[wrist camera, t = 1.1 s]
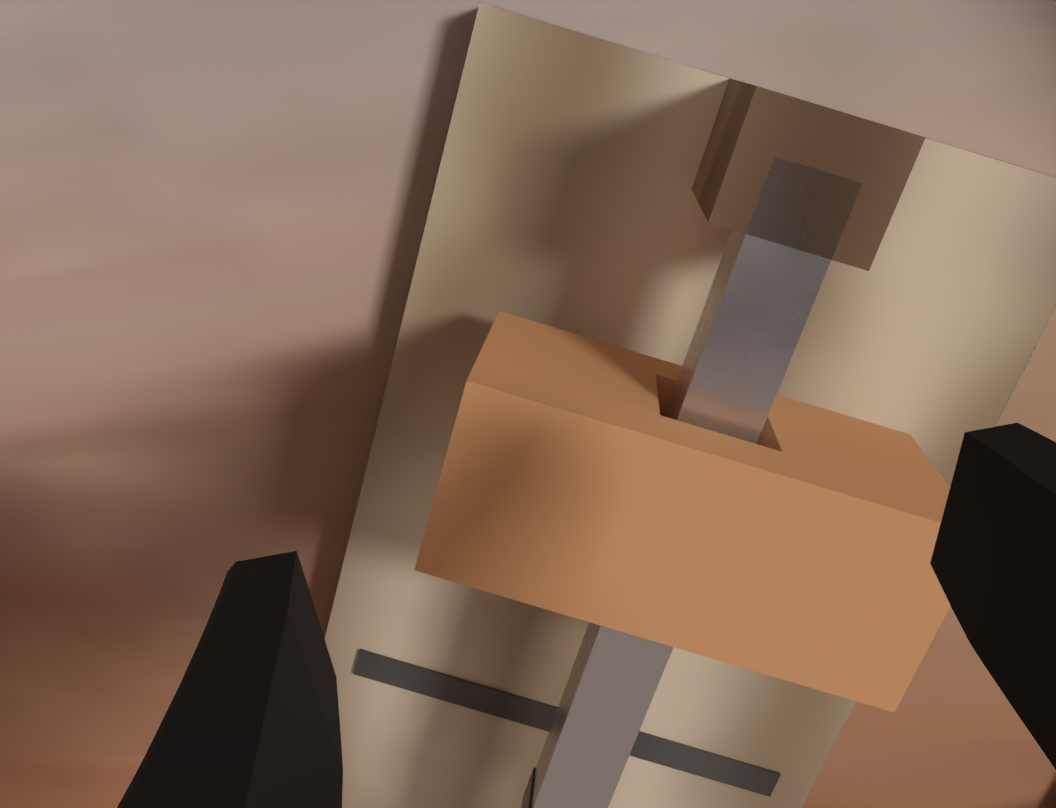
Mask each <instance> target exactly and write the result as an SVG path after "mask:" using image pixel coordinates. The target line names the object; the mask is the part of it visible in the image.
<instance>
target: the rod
mask: <svg viewBox="0 0 1056 808" xmlns="http://www.w3.org/2000/svg"><path fill="white" fill-rule="evenodd" d="M774 158H775V156H774ZM780 159H781V158H780ZM773 161H774V159H773ZM779 161H780V160H779V158H778V159H777V158H776V161H775V164H774V163H773V162H772V164H774V166H775V165H776V166H775V167H773V165H772V164H771V167H772V168H773V169H774V168H775V169H774V170H776V171H777V169H779V170H780V171H779V170H778V173H779V172H780V173H783V174H781V176H782V175H783V177H782V179H783V178H784V177H785V175H786V174H787V173H788V174H789V172H788V171H789V169H786V167H787V168H788V166H790V165H789V164H790V163H791V166H792V168H791V167H789V168H790V170H791V172H792V174H793V175H795V176H796V177H797V178H798V177H799V176H797V175H796V174H798V171H799V168H800V166H801V164H800V165H799V164H797V163H794V164H796V165H797V166H796V168H797V169H795V171H796V174H794V173H795V171H794V168H793V166H794V167H795V165H793V163H792V162H789V161H788V160H787V165H788V166H787V165H786V164H785V165H784V164H782V163H783V162H785V161H786V160H785V161H784V159H783V160H782V159H781V161H782V163H781V161H780V163H781V164H782V166H780V164H779ZM776 162H778V163H776ZM777 164H778V165H779V166H780V167H777ZM783 165H784V166H785V168H784V167H783ZM798 167H799V168H798ZM803 167H804V168H807V166H804V165H803ZM772 168H770V169H771V170H769V171H770V172H768V174H769V173H770V174H771V173H772V172H773V174H771V175H772V176H771V175H767V176H768V179H767V178H766V179H767V181H765V184H767V183H766V182H768V180H769V179H771V181H770V180H769V181H770V183H771V185H772V182H773V181H774V182H775V183H774V182H773V183H774V184H773V185H772V186H773V187H772V186H771V187H772V188H773V189H774V190H776V191H777V192H778V191H779V194H780V199H781V200H782V201H783V200H784V198H785V199H786V202H787V203H786V202H784V204H786V205H788V207H787V206H785V205H784V204H780V203H781V202H782V201H781V200H778V202H779V201H780V203H778V202H777V199H779V196H778V195H779V194H778V195H777V194H775V192H774V195H773V194H772V193H773V192H772V191H774V190H773V189H772V188H771V187H770V186H769V185H770V184H769V182H768V188H769V189H770V188H771V192H770V190H769V189H768V190H769V192H768V190H767V189H766V188H767V186H766V187H765V188H764V186H763V188H764V190H765V191H764V193H765V194H768V195H770V194H771V195H770V196H771V197H770V198H771V199H773V202H772V201H771V200H770V199H769V197H768V195H765V194H764V197H765V198H766V201H765V198H764V197H762V199H763V200H762V199H761V201H760V202H762V203H763V204H764V205H765V204H766V205H768V206H769V207H768V206H765V208H764V207H763V206H764V205H762V206H761V204H762V203H759V202H757V205H760V206H759V207H758V208H759V209H758V210H757V209H756V208H755V209H756V210H757V211H756V212H758V213H756V212H755V210H754V212H755V213H756V214H757V216H759V218H760V219H761V217H763V216H765V218H764V217H763V218H762V219H763V220H764V223H763V226H764V227H765V226H766V227H765V228H764V227H763V226H762V227H763V228H764V229H763V228H762V229H763V230H762V229H761V230H762V232H761V230H760V229H759V228H760V227H761V226H760V225H762V222H763V220H760V219H758V217H757V218H756V220H755V217H754V218H751V221H752V223H753V224H752V223H751V226H752V227H753V228H755V227H756V228H755V229H757V227H758V226H759V227H758V229H757V231H758V232H756V231H754V230H755V229H752V228H751V226H750V227H748V229H747V231H748V230H749V233H747V232H746V234H744V233H741V232H738V231H734V230H732V231H731V233H730V236H729V239H728V242H727V244H726V247H725V250H724V253H723V255H722V258H721V261H720V263H719V266H718V269H717V272H716V274H715V277H714V280H713V283H712V285H711V288H710V291H709V294H708V296H707V299H706V302H705V305H704V307H703V310H702V313H701V316H700V318H699V321H698V324H697V327H696V329H695V332H694V335H693V338H692V340H691V343H690V346H689V349H688V351H687V354H686V357H685V360H684V362H683V365H682V368H681V371H680V373H679V376H678V379H677V382H676V384H675V387H674V390H673V393H672V395H671V398H670V401H669V404H668V406H667V409H666V412H665V415H664V417H668V418H671V419H674V420H678V421H681V422H684V423H688V424H691V425H695V426H698V427H701V428H705V429H708V430H711V431H715V432H718V433H721V434H725V435H728V436H731V437H735V438H738V439H741V440H745V441H748V442H751V443H755V444H757V441H758V439H759V436H760V434H761V431H762V429H763V426H764V424H765V422H766V419H767V417H768V414H769V412H770V409H771V407H772V404H773V402H774V399H775V397H776V395H777V392H778V390H779V387H780V385H781V382H782V380H783V377H784V375H785V373H786V370H787V368H788V365H789V363H790V360H791V358H792V355H793V353H794V350H795V348H796V346H797V343H798V341H799V338H800V336H801V333H802V331H803V328H804V326H805V323H806V321H807V319H808V316H809V314H810V311H811V309H812V306H813V304H814V301H815V299H816V296H817V294H818V292H819V289H820V287H821V284H822V282H823V279H824V277H825V274H826V272H827V270H828V267H829V265H830V262H831V260H830V259H828V258H829V257H833V254H834V251H835V250H836V248H834V247H835V246H836V245H837V244H836V242H834V243H833V242H832V240H833V237H836V236H834V235H835V234H834V233H835V232H836V231H834V230H835V229H836V230H837V228H839V227H837V226H838V225H839V226H840V227H841V226H842V227H843V229H842V228H839V230H840V229H842V230H844V227H845V225H844V226H843V225H841V224H842V223H841V224H838V222H836V221H834V220H835V219H834V220H833V219H832V221H834V222H836V224H838V225H836V227H837V228H835V229H834V228H833V230H832V229H831V228H832V227H833V226H832V225H830V223H832V224H833V222H830V223H828V224H827V227H826V225H825V223H826V222H827V221H829V220H828V219H830V218H832V216H833V218H834V215H833V214H832V216H831V215H830V214H831V213H832V212H831V211H832V210H831V207H833V208H834V210H833V211H835V206H836V205H835V204H834V205H835V206H832V204H833V202H832V201H831V204H830V203H829V201H828V200H830V199H829V197H828V199H827V198H826V195H827V194H826V192H825V191H827V189H828V188H829V187H828V188H827V186H828V185H829V184H830V182H828V183H827V184H828V185H827V186H826V184H825V182H826V181H825V179H823V178H822V179H823V180H824V181H823V182H824V183H823V184H824V185H823V184H822V181H821V179H820V181H821V184H822V187H824V186H825V187H824V189H825V188H826V190H824V191H823V190H822V187H820V189H821V190H822V191H823V193H822V192H820V189H819V186H817V184H818V183H819V182H817V181H816V182H817V184H816V183H815V182H813V183H814V184H815V185H814V186H817V187H818V189H819V190H818V189H817V188H816V187H814V188H816V189H817V191H818V192H819V193H821V194H822V195H823V194H824V192H825V194H826V195H825V194H824V195H823V196H824V197H825V198H826V199H827V200H826V199H825V198H824V197H823V196H822V197H820V198H822V199H825V200H826V201H824V202H825V203H826V202H827V203H828V204H830V206H831V207H830V210H829V211H830V212H831V213H828V212H829V211H828V209H827V210H825V208H826V207H828V206H827V205H825V204H824V205H825V206H826V207H824V206H823V207H824V209H823V210H824V211H826V212H824V211H823V213H828V214H829V215H830V218H829V217H828V219H827V217H826V216H824V214H822V215H823V216H824V217H825V218H826V219H827V220H825V219H824V221H825V222H824V221H823V220H820V219H823V218H824V217H823V218H822V217H821V216H822V215H820V213H822V212H820V213H819V216H820V217H821V218H820V217H819V216H818V213H817V212H815V210H816V209H815V207H814V206H816V203H817V201H818V205H819V204H820V205H819V206H821V205H822V203H823V201H822V199H821V200H817V199H818V198H817V197H816V195H818V196H819V195H821V194H818V193H816V192H815V193H816V195H814V190H813V188H812V191H813V193H812V191H811V192H810V191H807V190H806V191H807V192H806V191H805V190H804V191H803V192H801V191H802V190H801V189H802V186H801V185H798V183H797V187H795V186H794V185H795V184H796V183H795V182H797V180H796V177H795V176H794V178H795V180H796V181H795V180H793V179H791V178H792V177H793V176H792V174H791V172H790V174H789V175H788V174H787V175H788V176H789V178H787V177H788V176H787V177H786V178H787V179H788V181H787V179H786V178H785V179H786V180H785V181H786V182H787V183H788V184H787V183H786V182H785V184H787V186H788V187H790V189H791V190H789V188H788V187H787V186H786V187H785V185H784V184H783V182H781V181H784V180H782V179H781V178H780V177H779V176H780V173H779V174H777V173H775V172H776V171H774V170H773V171H772ZM776 168H777V169H776ZM781 168H783V170H784V169H786V170H788V171H786V170H785V171H786V172H787V173H786V172H785V171H784V172H783V171H782V169H781ZM801 168H802V167H801ZM801 168H800V171H801V172H802V170H803V172H804V170H805V169H804V168H803V169H802V170H801ZM809 168H810V170H809V169H808V168H807V169H808V170H809V172H810V171H811V169H812V170H813V168H811V167H809ZM792 169H793V171H794V173H793V171H792ZM816 170H817V169H816ZM818 171H820V170H818ZM803 172H802V175H803ZM805 172H806V173H807V174H808V173H809V172H807V171H805ZM813 172H815V173H816V174H818V173H817V171H815V170H813ZM823 172H824V171H823ZM774 173H775V174H776V175H777V176H776V177H775V179H776V180H775V179H774V178H773V177H774V176H775V175H774ZM784 173H785V174H784ZM820 173H821V172H819V174H820ZM824 173H825V176H824V175H823V176H824V178H826V176H827V175H828V174H829V173H826V172H824ZM824 173H823V174H824ZM807 174H804V176H806V175H807ZM819 174H818V176H819ZM826 174H827V175H826ZM798 175H799V174H798ZM800 175H801V173H800ZM802 175H801V176H802ZM814 175H815V174H813V176H814ZM769 176H770V178H769ZM790 176H791V177H790ZM809 176H810V175H809V174H808V177H809ZM813 176H812V177H811V176H810V177H811V178H812V179H811V178H808V177H807V176H806V177H807V178H808V183H809V180H811V181H812V180H813V179H814V177H817V176H814V177H813ZM820 176H821V175H820ZM820 176H819V177H820ZM823 176H822V177H823ZM828 176H830V177H831V176H833V174H831V175H828ZM771 177H772V178H773V180H772V178H771ZM830 177H829V181H831V179H830ZM833 177H834V176H833ZM835 177H839V176H835ZM779 178H780V179H781V180H779V183H780V182H781V183H780V185H781V186H782V184H783V186H784V187H785V188H784V189H783V187H779V186H780V185H779V183H778V185H779V186H778V187H779V188H780V189H782V190H781V192H782V193H783V195H784V194H785V193H784V192H786V190H787V193H788V192H789V191H790V192H792V188H793V186H794V187H795V189H796V191H795V192H797V191H799V187H800V186H801V189H800V192H801V193H804V192H805V193H806V194H807V195H806V194H805V193H804V194H805V195H806V197H805V196H804V197H803V195H804V194H803V195H802V194H801V193H800V194H801V195H802V197H803V199H802V198H800V197H801V196H800V197H799V199H795V198H794V197H795V196H796V197H797V195H795V194H794V193H795V192H792V193H793V194H790V195H791V196H792V195H794V197H793V196H792V201H793V200H794V199H795V201H796V202H797V201H798V202H799V201H800V199H802V200H801V201H805V200H806V199H807V198H808V197H807V196H808V195H809V194H810V193H811V194H812V195H814V196H815V197H816V198H817V199H816V198H815V199H814V200H815V202H814V200H813V201H811V200H810V198H814V196H813V197H812V196H811V195H809V196H810V197H809V198H808V199H809V200H810V202H808V203H809V205H810V204H811V202H814V204H815V205H814V206H813V205H812V204H813V203H812V204H811V205H812V206H813V207H812V206H811V208H813V209H815V210H813V209H811V208H810V207H809V205H807V204H806V205H807V206H808V207H809V208H810V210H809V208H808V207H807V206H805V208H806V209H804V208H801V207H802V206H803V207H804V205H803V204H801V202H799V203H800V204H801V205H800V204H798V202H797V203H795V205H796V204H797V205H796V206H795V207H794V208H796V207H797V206H799V205H800V206H799V207H800V208H801V209H802V210H803V209H804V212H805V213H806V214H805V213H804V212H803V213H804V214H805V215H804V214H803V213H802V212H801V213H802V214H803V217H804V216H806V215H807V214H808V213H807V212H806V210H807V209H808V211H809V213H810V211H811V212H812V211H813V212H815V213H816V214H817V216H818V217H819V219H817V221H818V220H820V221H821V222H822V221H823V222H824V226H823V227H824V228H823V227H822V226H821V227H822V228H823V229H824V231H826V230H827V231H829V230H831V232H832V231H833V234H834V235H832V236H833V237H832V236H830V238H831V237H832V238H831V239H832V240H831V241H830V242H831V243H833V245H834V247H833V245H832V246H831V243H830V242H829V243H828V245H829V246H831V247H832V248H834V249H835V250H834V251H832V250H831V252H832V253H833V254H830V255H831V256H829V257H828V258H827V256H828V255H827V256H826V254H827V253H828V252H829V251H828V250H830V249H829V248H830V247H827V248H828V249H827V250H826V249H825V253H826V251H828V252H827V253H826V254H825V255H824V257H825V258H824V257H823V256H822V257H821V255H820V253H821V252H823V249H822V248H821V247H823V248H824V246H823V245H822V243H823V242H824V241H825V240H822V241H823V242H822V241H821V238H822V235H823V236H826V235H827V237H825V238H826V239H828V235H830V234H829V233H830V231H829V233H827V232H826V233H825V232H824V231H823V233H824V234H826V235H824V234H823V233H822V232H821V230H822V229H821V228H820V229H821V230H820V232H821V233H820V234H821V236H820V235H818V234H817V232H815V231H813V232H815V233H814V234H812V230H813V229H815V228H813V223H814V224H815V222H814V221H813V220H811V218H812V216H813V215H815V217H816V218H817V216H816V214H813V212H812V214H813V215H812V214H811V215H812V216H810V215H809V216H808V217H809V220H808V223H807V224H806V225H807V227H808V228H807V227H805V226H806V225H805V226H804V227H802V226H803V224H804V223H805V222H804V221H803V219H800V216H801V215H802V214H801V213H800V212H799V211H802V210H799V209H798V211H797V210H796V209H797V208H798V207H797V208H796V209H794V208H793V206H794V205H793V203H792V202H791V203H792V205H793V206H791V204H789V203H790V201H789V200H788V199H789V197H790V196H787V194H785V195H786V197H788V198H786V197H785V195H784V196H783V195H782V194H781V192H780V189H779V188H778V187H777V181H778V179H779ZM799 178H800V177H799ZM802 178H803V176H802ZM802 178H800V179H798V180H801V179H802ZM831 178H832V177H831ZM841 178H842V177H841ZM789 179H791V181H792V180H793V182H794V181H795V182H794V183H795V184H794V183H792V182H790V184H791V186H790V185H789V181H790V180H789ZM817 179H818V181H819V178H817ZM827 179H828V178H827ZM836 179H837V178H836ZM838 179H839V178H838ZM844 179H845V178H844ZM844 179H840V183H843V181H842V182H841V180H844ZM846 179H847V178H846ZM814 180H816V179H814ZM834 180H835V179H834ZM834 180H833V181H834ZM802 181H803V179H802ZM802 181H801V182H802ZM805 181H807V180H806V178H805ZM805 181H803V182H804V184H802V185H803V187H804V189H805V184H806V182H805ZM811 181H810V182H811ZM836 181H838V180H836ZM846 181H847V182H845V181H844V182H845V183H847V184H849V183H848V179H847V180H846ZM798 182H799V183H801V182H800V181H798ZM834 182H835V181H834ZM851 182H852V180H851ZM851 182H850V183H851ZM808 183H807V185H809V184H810V183H809V184H808ZM811 183H812V182H811ZM835 183H837V182H835ZM838 183H839V181H838ZM840 183H839V187H841V184H840ZM845 183H844V185H843V186H845V185H846V184H845ZM765 184H764V185H765ZM831 184H832V183H831ZM833 184H834V183H833ZM851 184H852V183H851ZM851 184H850V185H851ZM853 184H854V185H855V182H854V183H853ZM861 184H863V183H861ZM792 185H793V186H792ZM811 185H812V186H813V184H810V187H809V186H808V187H809V188H808V187H806V188H807V189H808V190H811V189H810V188H811ZM819 185H820V183H819ZM850 185H849V186H850ZM856 185H857V183H856ZM798 186H799V187H798ZM820 186H821V185H820ZM832 186H833V185H832ZM834 186H838V184H837V185H834ZM834 186H833V187H832V188H834ZM846 186H847V185H846ZM846 186H845V188H846ZM860 186H861V185H860ZM860 186H859V187H860ZM776 187H777V188H778V190H777V189H776ZM847 187H848V186H847ZM851 187H853V186H850V187H849V188H851ZM857 187H858V186H857ZM832 188H829V189H832ZM837 188H838V187H836V188H835V189H836V191H838V189H839V188H838V189H837ZM845 188H842V187H841V189H845ZM849 188H846V189H849ZM816 189H815V190H816ZM853 189H854V187H853ZM860 189H861V187H860V188H859V189H858V190H859V191H860ZM762 190H763V189H762ZM766 190H767V193H766ZM784 190H785V191H784ZM793 190H794V189H793ZM839 190H840V189H839ZM850 190H851V189H849V191H850ZM854 190H855V189H854ZM836 191H835V193H837V192H836ZM849 191H845V192H847V193H848V194H849ZM856 191H857V189H856ZM856 191H855V192H853V190H852V192H853V194H854V195H853V194H852V193H851V195H853V196H852V197H854V196H855V193H856ZM790 192H789V193H790ZM809 192H810V193H809ZM828 192H829V191H828ZM830 192H831V191H830ZM830 192H829V193H830ZM832 192H833V193H834V191H833V189H832ZM850 192H851V191H850ZM761 193H763V192H762V191H761ZM769 193H770V194H769ZM798 193H799V192H798ZM808 193H809V194H808ZM833 193H831V195H832V196H833ZM838 193H839V191H838ZM847 193H845V194H844V191H843V194H844V197H845V195H846V194H847ZM857 193H858V192H857ZM800 194H798V196H799V195H800ZM840 194H842V193H840ZM843 194H842V195H841V196H843ZM788 195H789V194H788ZM828 195H829V194H828ZM831 195H830V197H832V196H831ZM836 195H837V196H838V194H836ZM836 195H835V196H834V199H835V198H836ZM760 196H761V194H760ZM762 196H763V194H762ZM766 196H767V197H768V198H767V197H766ZM772 196H773V197H775V196H777V197H775V199H776V198H777V199H776V200H775V199H774V198H772ZM841 196H840V197H841ZM848 196H850V194H849V195H847V197H848ZM857 196H858V195H857V194H856V197H857ZM782 197H783V198H782ZM838 197H839V196H838ZM840 197H839V198H840ZM847 197H845V198H846V199H843V200H847V199H848V198H847ZM760 198H761V197H760ZM793 198H794V199H793ZM797 198H798V197H797ZM820 198H819V199H820ZM804 199H805V200H804ZM808 199H807V200H808ZM841 199H842V197H841ZM768 200H769V202H768ZM790 200H791V198H790ZM807 200H806V201H807ZM809 200H808V201H809ZM850 200H852V199H850ZM850 200H849V202H848V201H844V202H845V203H846V202H847V203H848V204H849V203H851V204H853V203H852V202H853V201H852V202H851V201H850ZM854 200H856V199H854ZM758 201H759V199H758ZM764 201H765V202H766V203H765V202H764ZM775 201H776V202H775ZM784 201H785V200H784ZM788 201H789V203H788ZM795 201H794V202H795ZM819 201H821V203H820V202H819ZM835 201H836V200H835ZM837 201H838V202H837V206H836V211H837V207H838V206H839V204H838V203H839V202H841V201H839V199H837ZM774 202H775V204H778V206H779V207H778V206H777V205H775V204H774ZM844 202H843V203H844ZM854 202H855V201H854ZM770 203H772V204H774V206H775V207H774V208H775V209H776V211H777V213H778V214H779V213H780V211H781V210H783V211H781V213H782V214H781V213H780V215H781V216H779V215H778V214H776V211H775V210H773V209H774V208H773V205H772V204H771V205H770ZM802 203H804V202H802ZM779 204H780V205H784V206H785V207H787V208H789V209H790V208H791V209H793V210H794V211H795V212H794V216H795V215H796V214H797V215H796V216H798V212H799V213H800V214H799V215H800V216H799V219H800V220H801V222H803V223H802V226H801V224H799V225H800V226H801V229H803V228H804V229H805V228H807V230H808V232H809V231H810V233H811V234H812V235H814V236H815V235H818V237H819V236H820V238H817V237H816V236H815V237H816V238H817V239H819V242H820V241H821V242H822V243H819V242H818V241H816V242H815V244H817V243H818V244H820V245H821V247H820V246H819V245H818V244H817V246H819V247H820V248H821V252H820V253H819V254H818V255H819V256H818V255H814V254H815V253H816V252H817V251H818V249H817V246H816V250H817V251H816V250H815V247H814V246H813V243H814V241H813V239H814V238H815V237H814V236H813V239H812V238H811V237H809V234H808V233H807V232H805V231H806V229H805V231H803V230H802V231H801V229H800V228H799V227H800V226H799V225H798V226H799V227H797V225H796V224H798V223H797V222H798V218H797V219H796V218H794V216H793V215H790V216H792V217H793V218H794V219H796V223H795V221H793V220H794V219H792V218H791V217H790V216H789V214H790V210H791V209H790V210H789V209H788V210H789V212H788V210H787V209H785V208H783V206H780V205H779ZM804 204H805V203H804ZM841 204H842V203H841ZM848 204H847V205H848ZM851 204H850V205H851ZM757 205H756V206H757ZM789 205H790V206H789ZM843 205H845V204H843ZM850 205H848V206H850ZM770 206H772V208H771V207H770ZM776 206H777V208H778V209H777V208H776ZM851 206H852V208H853V206H854V205H851ZM851 206H850V207H851ZM762 207H763V208H764V210H762V209H763V208H762ZM766 207H768V208H771V209H770V211H768V212H767V213H766V211H767V209H768V208H766ZM780 207H781V208H782V209H781V208H780ZM817 207H818V206H817ZM821 207H822V206H821ZM840 207H842V206H841V205H840ZM840 207H839V210H840V212H843V210H842V211H841V209H840ZM844 207H846V206H844ZM844 207H843V208H842V209H844ZM818 208H819V207H818ZM818 208H817V210H816V211H818V212H819V211H821V210H822V209H821V210H818ZM846 208H847V207H846ZM765 209H766V210H765ZM779 209H781V210H779ZM819 209H820V208H819ZM760 210H762V212H764V214H762V213H761V212H760ZM786 210H787V212H786V213H785V212H784V211H786ZM848 210H849V211H848ZM850 210H851V208H850V209H849V207H848V208H847V209H846V210H845V212H847V213H848V214H849V212H850ZM771 211H772V212H773V211H774V212H775V213H774V214H775V215H777V216H778V217H777V218H778V221H779V222H780V223H782V225H784V226H782V225H781V224H780V223H776V226H774V222H771V221H775V220H774V219H775V218H776V216H775V215H774V214H773V217H774V216H775V217H774V218H773V217H772V216H771V215H770V214H771ZM778 211H779V212H778ZM796 211H797V213H796ZM827 211H828V212H827ZM791 212H792V214H793V211H792V210H791ZM768 213H769V214H768ZM783 213H785V215H786V214H787V213H789V214H787V215H786V216H787V218H785V217H783V215H784V214H783ZM795 213H796V214H795ZM833 213H834V212H833ZM836 213H837V212H836ZM850 213H851V212H850ZM753 214H754V213H753ZM760 214H761V216H760ZM766 214H768V215H767V216H766ZM828 214H827V215H828ZM839 214H841V213H839ZM839 214H838V215H839ZM844 214H845V213H844ZM785 215H784V216H785ZM835 215H836V214H835ZM841 215H842V214H841ZM845 215H846V216H847V214H845ZM753 216H755V215H753ZM753 216H752V217H753ZM843 216H844V215H843ZM843 216H842V217H843ZM767 217H769V218H767ZM770 217H772V219H771V218H770ZM782 217H783V218H784V219H782ZM788 217H789V219H790V221H789V220H787V219H788ZM803 217H801V218H803ZM839 217H840V216H839ZM766 218H767V219H766ZM779 218H780V219H779ZM844 218H845V217H843V219H844ZM847 218H849V217H847ZM752 219H754V220H755V221H754V222H753V220H752ZM757 219H758V220H757ZM765 219H766V220H765ZM768 219H769V220H770V219H771V221H770V222H771V223H772V224H773V226H774V228H775V229H774V228H773V231H774V230H776V232H775V231H774V233H775V235H776V234H777V235H776V236H775V235H774V233H772V232H773V231H772V232H771V228H772V227H773V226H772V225H771V224H770V223H768V221H769V220H768ZM781 219H782V220H781ZM785 219H786V221H787V224H786V221H785ZM804 219H805V218H804ZM807 219H808V218H807ZM807 219H805V221H806V222H807ZM812 219H813V218H812ZM837 219H838V220H840V219H841V217H840V218H837ZM759 220H760V223H759ZM783 220H784V221H783ZM791 220H792V221H793V222H792V221H791ZM810 220H811V221H812V224H811V225H810V226H808V224H809V222H810ZM814 220H815V221H816V219H815V218H814ZM841 220H842V219H841ZM845 220H847V219H846V218H845V219H844V222H843V220H842V222H843V223H845V224H846V222H845ZM751 221H750V222H751ZM765 221H766V222H765ZM776 221H777V219H776ZM776 221H775V222H776ZM778 221H777V222H778ZM781 221H783V222H781ZM788 221H789V222H791V223H789V224H788ZM756 222H758V225H757V223H756ZM801 222H800V223H801ZM823 222H822V223H820V222H819V221H818V222H817V223H818V224H817V223H816V224H817V226H818V225H819V226H820V224H823ZM839 222H840V221H839ZM765 223H766V225H764V224H765ZM793 223H794V224H795V226H794V224H793ZM755 224H756V226H754V225H755ZM768 224H769V225H770V226H772V227H770V226H769V231H768V230H767V229H768V227H767V225H768ZM779 224H780V225H779ZM790 224H793V225H792V227H791V228H792V229H790V226H791V225H790ZM777 225H778V226H779V230H778V229H777V228H778V226H777ZM785 225H788V226H785ZM828 225H830V227H829V226H828ZM780 226H781V227H782V229H784V227H785V229H784V230H787V229H788V232H789V229H790V231H791V230H793V226H794V230H793V232H791V234H790V232H789V233H788V232H787V231H786V233H788V234H786V233H785V232H783V231H784V230H780V229H781V228H780ZM814 226H816V225H814ZM819 226H818V229H819ZM796 227H797V230H798V229H799V230H798V231H795V228H796ZM810 227H811V228H810ZM825 227H826V228H825ZM828 227H829V228H830V229H829V228H828ZM750 228H751V230H750ZM786 228H787V229H786ZM812 228H813V229H812ZM810 229H811V230H810ZM818 229H816V230H817V231H818ZM825 229H826V230H825ZM828 229H829V230H828ZM759 230H760V231H759ZM764 230H767V231H768V232H769V233H765V231H764ZM777 230H778V231H779V232H778V233H779V234H780V235H781V234H782V233H785V236H784V235H781V236H784V238H785V240H786V238H787V240H786V241H784V239H783V238H782V240H783V242H784V243H783V242H781V241H782V240H781V241H779V239H778V238H780V236H779V234H778V233H777ZM752 231H754V232H752ZM767 231H766V232H767ZM780 231H782V232H781V233H780ZM794 231H795V233H797V236H798V237H799V235H800V233H798V232H803V233H802V234H803V235H802V237H803V238H804V240H807V242H809V244H810V245H811V244H812V246H813V247H814V248H813V249H814V250H815V251H816V252H815V251H814V250H813V251H812V252H814V254H812V252H811V254H810V253H808V252H809V251H811V250H809V251H807V250H808V249H810V248H808V249H807V248H806V249H807V250H806V249H805V248H804V246H808V245H809V244H807V243H805V242H806V241H805V242H804V241H803V239H802V237H801V240H798V237H797V236H796V237H797V238H796V237H794V235H793V234H794ZM837 231H838V230H837ZM751 232H752V233H751ZM763 232H764V233H765V235H766V236H765V235H764V233H763ZM770 232H771V233H770ZM839 232H840V231H839ZM754 233H755V234H754ZM757 233H758V234H757ZM759 233H760V234H762V235H761V236H762V237H761V238H759V237H760V234H759ZM792 233H793V234H792ZM805 233H807V237H805V236H806V234H805ZM818 233H819V232H818ZM837 233H838V232H837ZM837 233H836V234H837ZM841 233H843V231H841ZM841 233H839V234H841ZM748 234H749V235H748ZM756 234H757V235H758V236H759V237H758V236H757V237H756ZM767 234H768V235H767ZM798 234H799V235H798ZM811 234H810V236H811ZM753 235H754V236H753ZM789 235H791V238H790V237H789V238H790V239H791V240H792V237H793V239H794V238H796V239H795V241H796V240H797V241H798V243H800V244H799V245H798V243H797V247H795V246H796V245H794V244H796V242H797V241H796V242H794V241H793V242H794V243H792V242H791V243H792V244H793V245H794V246H793V245H790V241H791V240H788V237H787V236H789ZM795 235H796V234H795ZM841 235H842V234H841ZM768 236H769V237H768ZM770 236H773V237H772V239H770V241H769V240H768V241H767V240H765V239H769V238H771V237H770ZM777 236H778V238H777V240H775V242H776V243H775V242H772V241H774V239H773V238H776V237H777ZM800 236H801V235H800ZM839 236H840V235H839ZM763 237H764V238H763ZM767 237H768V238H767ZM762 238H763V239H762ZM806 238H807V239H806ZM808 238H809V239H810V238H811V239H812V240H811V239H810V241H809V240H808ZM823 238H824V237H823ZM823 238H822V239H823ZM840 238H841V236H840V237H839V238H838V240H839V239H840ZM780 239H781V238H780ZM799 239H800V238H799ZM817 239H816V240H817ZM814 240H815V239H814ZM828 240H829V239H828ZM836 240H837V239H836ZM838 240H837V241H838ZM778 241H779V242H781V244H782V245H781V244H778V243H779V242H778ZM787 241H788V242H787ZM799 241H800V242H799ZM802 241H803V242H804V243H805V245H804V244H802ZM812 241H813V242H812ZM834 241H835V240H834ZM785 242H786V243H785ZM811 242H812V243H811ZM825 242H827V241H825ZM838 243H839V242H838ZM786 244H787V246H786ZM801 244H802V246H803V248H804V249H803V248H802V250H803V251H802V250H801V251H800V250H799V249H800V247H802V246H801ZM815 244H814V245H815ZM823 244H824V245H825V243H823ZM826 244H827V243H826ZM784 245H785V246H784ZM789 245H790V246H791V247H788V246H789ZM810 245H809V247H811V249H812V246H810ZM828 245H827V246H828ZM792 246H793V247H794V248H793V247H792ZM825 247H826V246H825ZM836 247H837V246H836ZM820 248H819V249H820ZM804 251H805V252H804ZM819 251H820V250H819ZM819 251H818V252H819ZM831 252H830V253H831ZM821 254H824V252H823V253H821ZM828 254H829V253H828ZM672 650H673V647H671V646H668V645H665V644H661V643H658V642H654V641H651V640H648V639H644V638H641V637H638V636H634V635H631V634H627V633H624V632H621V631H617V630H614V629H611V628H607V627H604V626H601V625H597V624H594V623H590V622H589V623H588V626H587V629H586V632H585V634H584V637H583V640H582V643H581V645H580V648H579V651H578V654H577V656H576V659H575V662H574V665H573V667H572V670H571V673H570V676H569V678H568V681H567V684H566V687H565V689H564V692H563V695H562V698H561V700H560V703H559V706H558V709H557V711H556V714H555V717H554V720H553V722H552V725H551V728H550V731H549V733H548V736H547V739H546V742H545V744H544V747H543V750H542V753H541V755H540V758H539V761H538V764H537V766H536V768H535V767H534V768H533V770H532V773H531V776H530V779H529V782H528V784H527V787H526V790H525V793H524V795H523V799H522V807H521V808H608V807H609V804H610V802H611V799H612V797H613V794H614V792H615V789H616V787H617V785H618V782H619V780H620V777H621V775H622V772H623V770H624V767H625V765H626V762H627V760H628V758H629V755H630V753H631V750H632V748H633V745H634V743H635V740H636V738H637V736H638V733H639V731H640V728H641V726H642V723H643V721H644V718H645V716H646V713H647V711H648V709H649V706H650V704H651V701H652V699H653V696H654V694H655V691H656V689H657V686H658V684H659V682H660V679H661V677H662V674H663V672H664V669H665V667H666V664H667V662H668V659H669V657H670V655H671V652H672Z"/></svg>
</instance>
